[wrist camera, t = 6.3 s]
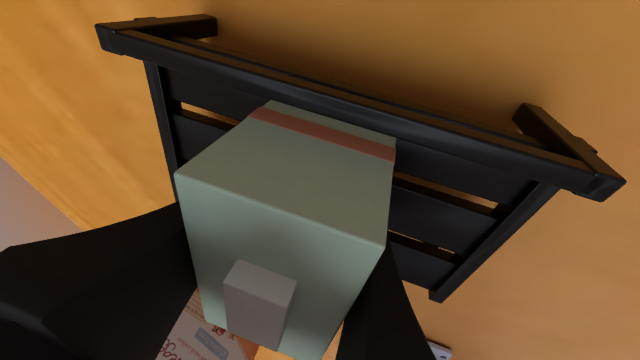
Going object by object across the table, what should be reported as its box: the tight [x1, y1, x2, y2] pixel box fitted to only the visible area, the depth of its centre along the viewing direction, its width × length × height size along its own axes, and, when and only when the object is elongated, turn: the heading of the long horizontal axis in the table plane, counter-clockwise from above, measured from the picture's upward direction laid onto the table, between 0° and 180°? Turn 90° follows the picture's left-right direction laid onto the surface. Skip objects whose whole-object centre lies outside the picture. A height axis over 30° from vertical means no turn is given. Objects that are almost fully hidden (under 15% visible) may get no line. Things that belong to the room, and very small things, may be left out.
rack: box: [95, 14, 627, 303], centre depth 12 cm, size 10×16×6 cm, turn 79°
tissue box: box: [174, 100, 396, 360], centre depth 10 cm, size 8×5×6 cm, turn 169°
